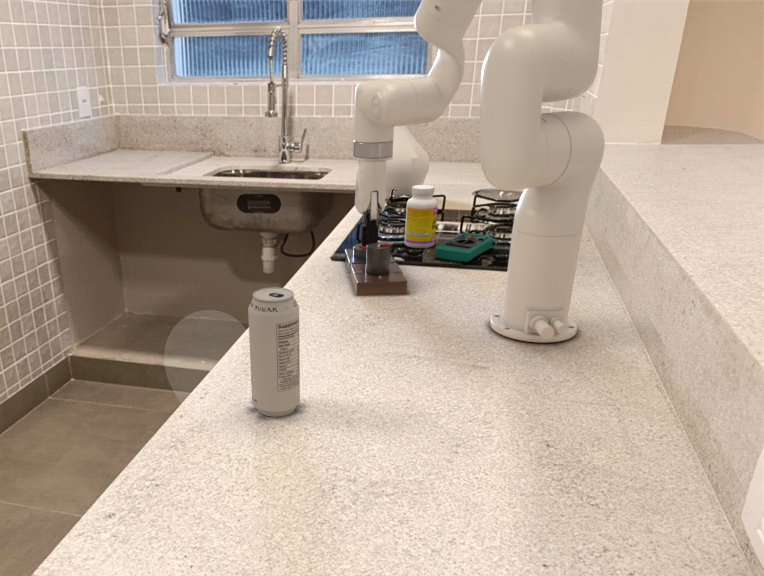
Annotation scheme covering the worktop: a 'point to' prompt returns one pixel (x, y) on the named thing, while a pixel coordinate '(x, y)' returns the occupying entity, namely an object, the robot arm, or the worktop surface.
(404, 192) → the vase
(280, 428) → the worktop surface
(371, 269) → the dial
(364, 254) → the button block
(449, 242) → the digital multimeter
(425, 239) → the supplement bottle
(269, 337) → the energy drink can
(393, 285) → the dial panel
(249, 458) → the worktop surface
